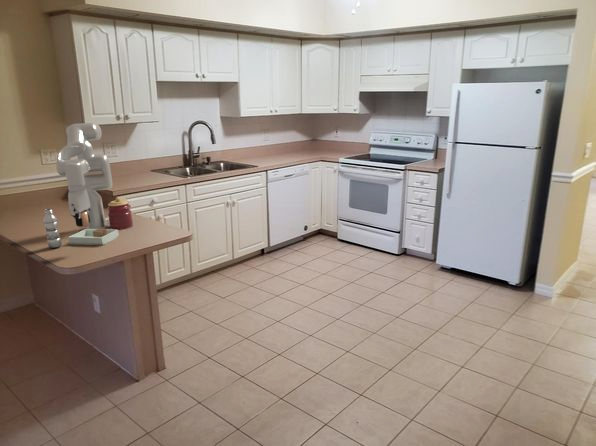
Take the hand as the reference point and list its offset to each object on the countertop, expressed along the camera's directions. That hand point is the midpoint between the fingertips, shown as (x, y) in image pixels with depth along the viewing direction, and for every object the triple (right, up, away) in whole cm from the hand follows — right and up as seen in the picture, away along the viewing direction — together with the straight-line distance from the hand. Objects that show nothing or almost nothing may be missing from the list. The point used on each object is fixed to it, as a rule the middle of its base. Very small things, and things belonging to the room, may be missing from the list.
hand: (83, 223), depth 227 cm
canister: (+2, -2, +45) cm, 45 cm away
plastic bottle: (-20, -12, +12) cm, 26 cm away
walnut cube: (0, -8, +20) cm, 21 cm away
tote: (-4, -9, +21) cm, 23 cm away
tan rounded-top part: (0, -1, 0) cm, 1 cm away
